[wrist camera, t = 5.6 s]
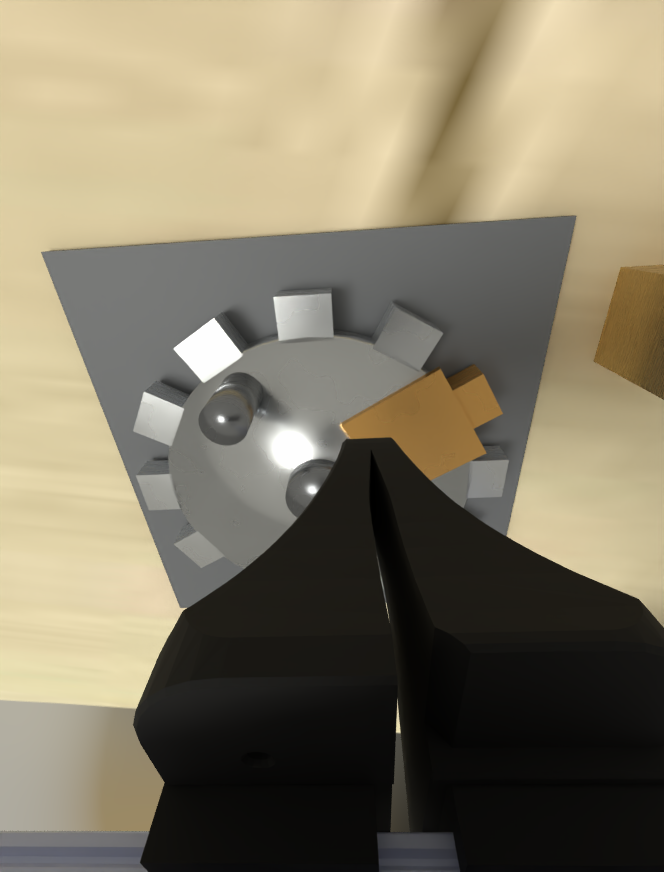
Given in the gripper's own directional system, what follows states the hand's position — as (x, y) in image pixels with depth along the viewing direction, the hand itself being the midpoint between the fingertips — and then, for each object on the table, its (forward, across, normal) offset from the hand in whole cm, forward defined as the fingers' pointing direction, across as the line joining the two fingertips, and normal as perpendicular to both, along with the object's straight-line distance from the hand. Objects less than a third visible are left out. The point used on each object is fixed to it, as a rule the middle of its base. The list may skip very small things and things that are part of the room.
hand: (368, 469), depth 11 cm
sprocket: (+8, +2, +5) cm, 10 cm away
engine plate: (+8, +2, +5) cm, 10 cm away
